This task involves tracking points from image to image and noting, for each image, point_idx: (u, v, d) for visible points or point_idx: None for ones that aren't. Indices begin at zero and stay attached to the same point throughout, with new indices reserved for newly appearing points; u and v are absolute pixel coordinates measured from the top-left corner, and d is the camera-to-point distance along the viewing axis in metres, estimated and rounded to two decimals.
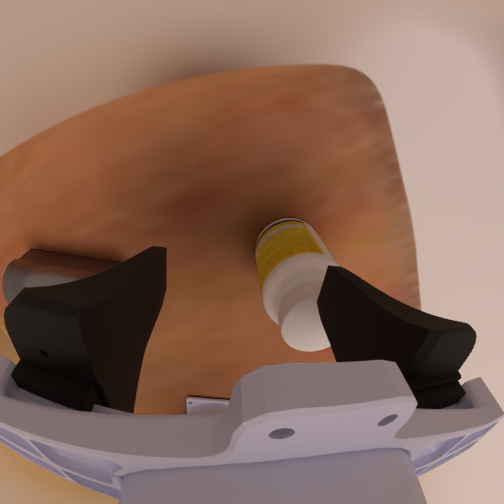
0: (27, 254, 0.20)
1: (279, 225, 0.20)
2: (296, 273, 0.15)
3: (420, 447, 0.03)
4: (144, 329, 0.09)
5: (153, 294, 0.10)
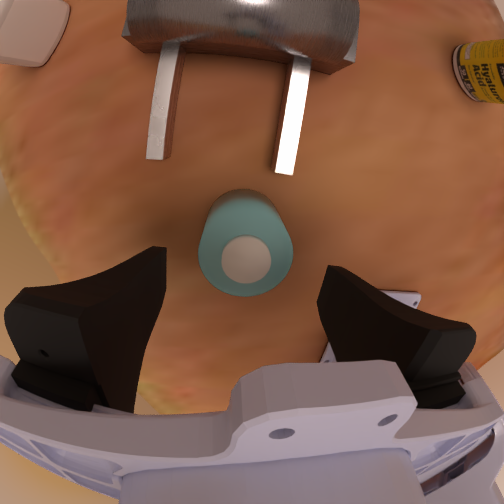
0: None
1: None
2: None
3: (420, 447, 0.03)
4: (144, 329, 0.09)
5: (153, 294, 0.10)
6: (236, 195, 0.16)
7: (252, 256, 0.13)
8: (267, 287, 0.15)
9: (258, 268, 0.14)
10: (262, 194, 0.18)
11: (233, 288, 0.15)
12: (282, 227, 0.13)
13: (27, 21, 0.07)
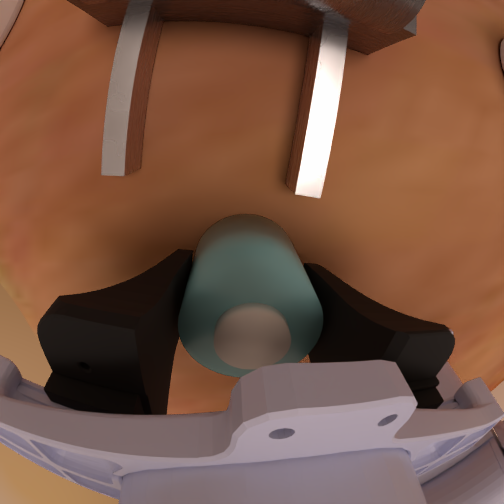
0: None
1: None
2: None
3: (420, 447, 0.03)
4: (174, 333, 0.09)
5: (182, 298, 0.10)
6: (235, 228, 0.11)
7: (262, 337, 0.08)
8: None
9: (271, 351, 0.08)
10: (273, 222, 0.12)
11: (233, 369, 0.10)
12: (310, 290, 0.08)
13: None
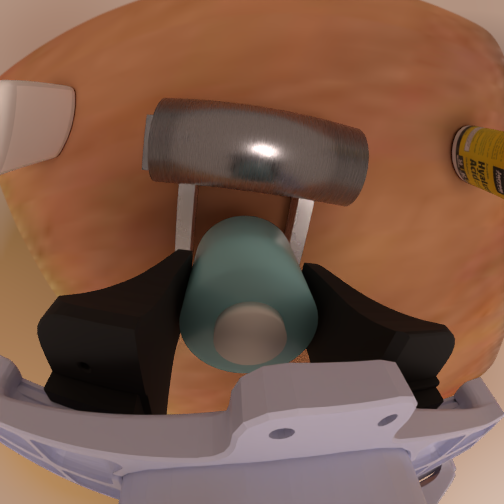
0: None
1: (475, 127, 0.15)
2: None
3: (420, 447, 0.03)
4: (174, 333, 0.09)
5: (182, 298, 0.10)
6: (232, 230, 0.11)
7: (259, 334, 0.09)
8: (280, 362, 0.10)
9: (268, 347, 0.09)
10: (269, 222, 0.13)
11: (234, 365, 0.10)
12: (303, 288, 0.09)
13: (35, 128, 0.11)
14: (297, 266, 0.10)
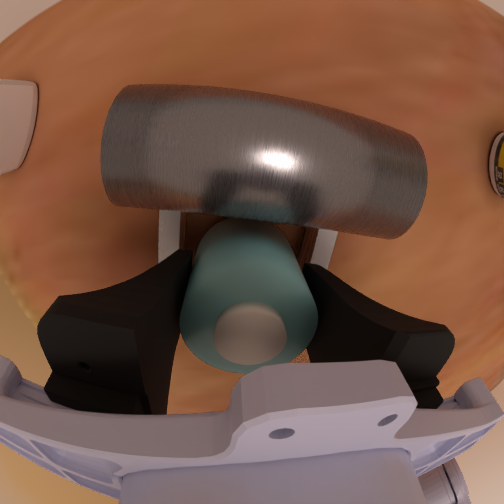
0: None
1: None
2: None
3: (420, 447, 0.03)
4: (174, 333, 0.09)
5: (182, 298, 0.10)
6: (232, 230, 0.11)
7: (259, 334, 0.09)
8: (280, 361, 0.10)
9: (268, 347, 0.09)
10: (269, 222, 0.13)
11: (234, 365, 0.10)
12: (303, 288, 0.09)
13: None
14: (297, 266, 0.10)
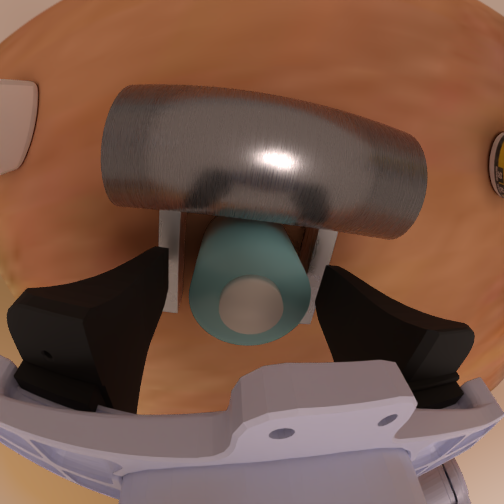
0: None
1: None
2: None
3: (420, 447, 0.03)
4: (147, 329, 0.09)
5: (156, 294, 0.10)
6: None
7: (259, 303, 0.10)
8: (278, 334, 0.12)
9: (267, 316, 0.10)
10: None
11: (236, 337, 0.11)
12: (297, 263, 0.10)
13: None
14: (292, 247, 0.12)
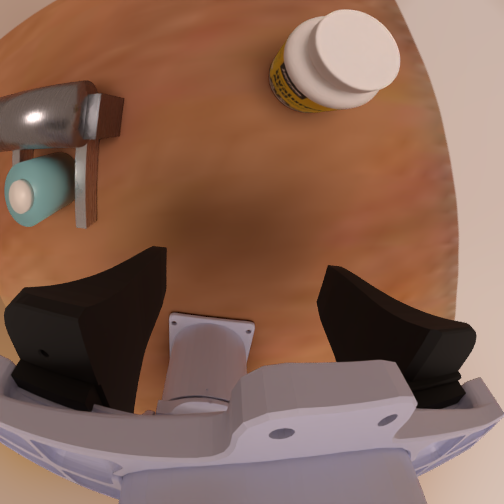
0: None
1: None
2: None
3: (420, 447, 0.03)
4: (144, 329, 0.09)
5: (153, 294, 0.10)
6: None
7: (20, 192, 0.13)
8: (38, 217, 0.15)
9: (24, 201, 0.14)
10: (66, 154, 0.18)
11: (23, 220, 0.15)
12: (35, 169, 0.13)
13: None
14: (50, 166, 0.15)
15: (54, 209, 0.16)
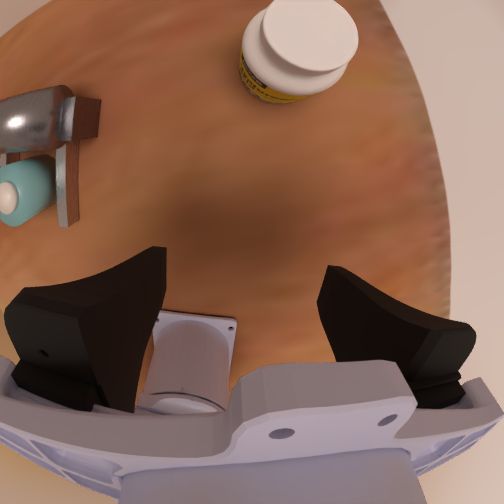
0: None
1: None
2: None
3: (420, 447, 0.03)
4: (144, 329, 0.09)
5: (153, 294, 0.10)
6: None
7: (5, 194, 0.13)
8: (23, 217, 0.15)
9: (10, 201, 0.13)
10: (48, 155, 0.17)
11: (10, 221, 0.15)
12: (19, 171, 0.13)
13: None
14: (33, 167, 0.15)
15: (38, 208, 0.16)
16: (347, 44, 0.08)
